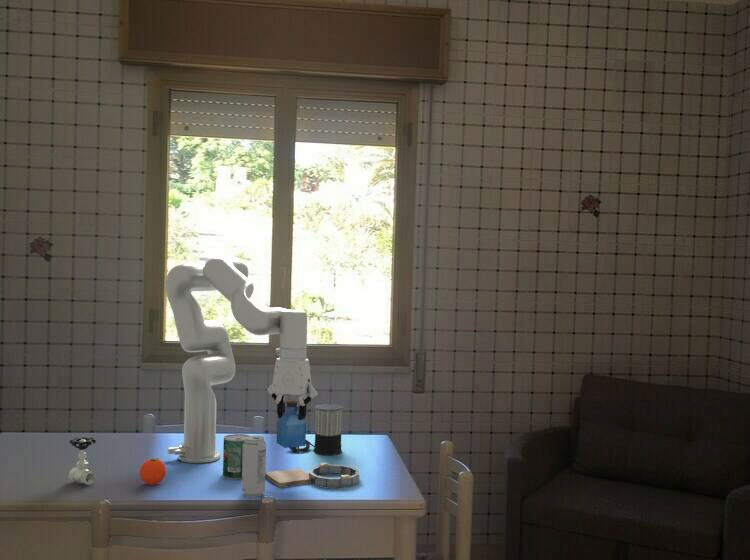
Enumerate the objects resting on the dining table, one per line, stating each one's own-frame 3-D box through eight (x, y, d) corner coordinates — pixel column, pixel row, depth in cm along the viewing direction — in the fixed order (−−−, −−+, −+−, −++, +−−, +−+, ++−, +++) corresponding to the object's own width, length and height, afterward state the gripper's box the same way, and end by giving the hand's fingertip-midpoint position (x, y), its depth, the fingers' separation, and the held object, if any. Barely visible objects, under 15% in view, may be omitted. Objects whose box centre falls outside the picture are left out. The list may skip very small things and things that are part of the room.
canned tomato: (220, 472, 215) (220, 434, 215) (246, 470, 218) (247, 433, 218) (225, 480, 208) (226, 441, 208) (253, 478, 211) (254, 439, 211)
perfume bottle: (284, 447, 206) (285, 404, 206) (276, 442, 211) (277, 400, 211) (305, 445, 209) (306, 403, 209) (296, 440, 214) (297, 399, 214)
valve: (79, 489, 197) (80, 443, 197) (63, 484, 200) (64, 440, 200) (100, 483, 202) (101, 439, 202) (84, 478, 206) (85, 435, 206)
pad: (279, 487, 203) (279, 483, 203) (264, 476, 213) (264, 472, 213) (315, 482, 209) (315, 478, 209) (299, 472, 218) (299, 468, 218)
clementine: (145, 479, 207) (146, 453, 207) (170, 480, 207) (170, 454, 207) (135, 487, 199) (136, 461, 199) (161, 488, 199) (161, 462, 199)
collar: (323, 490, 201) (323, 479, 201) (301, 476, 214) (301, 466, 213) (368, 484, 208) (368, 473, 208) (344, 471, 221) (344, 460, 221)
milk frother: (347, 453, 241) (348, 407, 241) (304, 459, 232) (305, 412, 232) (325, 443, 253) (326, 400, 252) (283, 449, 244) (284, 404, 244)
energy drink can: (247, 489, 200) (249, 434, 200) (268, 492, 199) (270, 436, 198) (237, 496, 195) (238, 439, 194) (258, 499, 193) (260, 441, 192)
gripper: (259, 353, 209) (257, 417, 209) (315, 357, 203) (314, 423, 204) (271, 350, 216) (270, 413, 216) (326, 354, 210) (325, 418, 211)
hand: (291, 417), depth 210 cm, fingers closed on perfume bottle, 5 cm apart
